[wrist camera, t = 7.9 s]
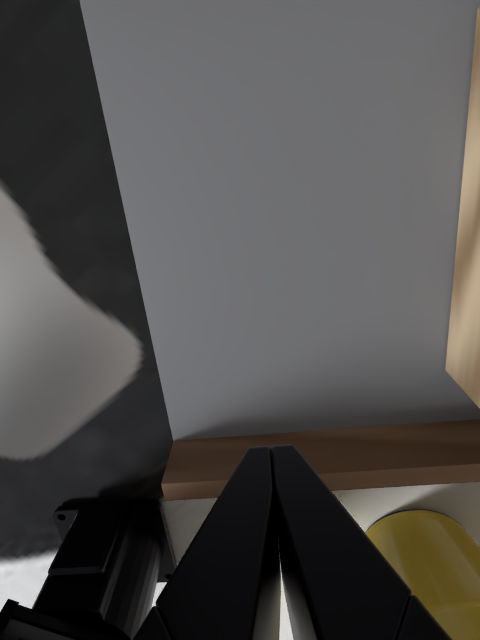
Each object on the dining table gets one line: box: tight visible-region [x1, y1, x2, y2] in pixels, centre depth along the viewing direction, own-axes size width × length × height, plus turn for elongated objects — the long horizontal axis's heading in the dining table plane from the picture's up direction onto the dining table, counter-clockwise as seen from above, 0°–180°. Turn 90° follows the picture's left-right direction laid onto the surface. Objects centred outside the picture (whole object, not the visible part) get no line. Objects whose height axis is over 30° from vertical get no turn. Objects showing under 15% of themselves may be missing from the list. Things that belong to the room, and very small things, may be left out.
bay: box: [80, 0, 480, 501], centre depth 16 cm, size 22×25×4 cm
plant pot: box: [365, 510, 480, 640], centre depth 20 cm, size 10×10×10 cm
